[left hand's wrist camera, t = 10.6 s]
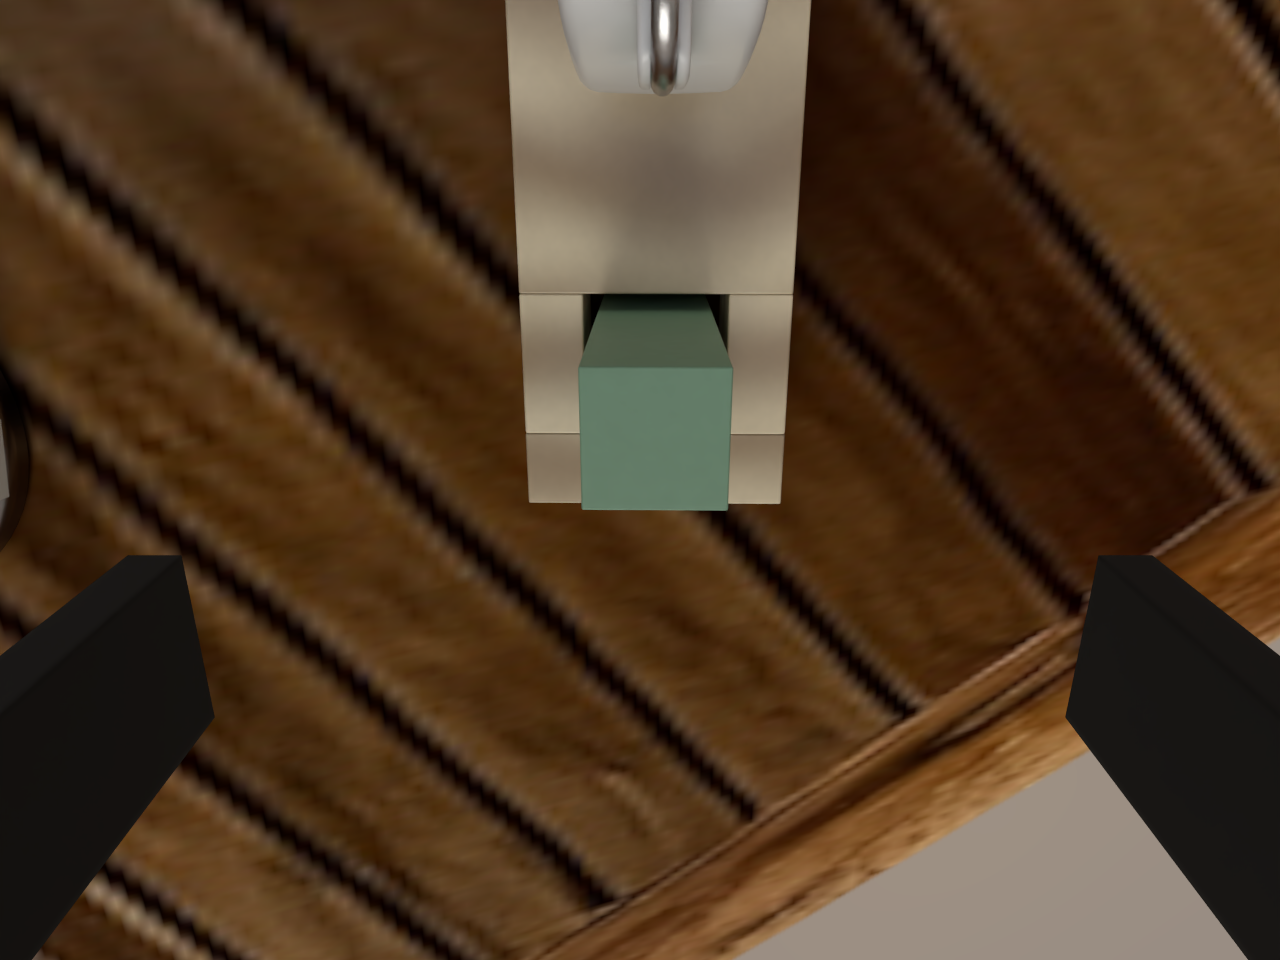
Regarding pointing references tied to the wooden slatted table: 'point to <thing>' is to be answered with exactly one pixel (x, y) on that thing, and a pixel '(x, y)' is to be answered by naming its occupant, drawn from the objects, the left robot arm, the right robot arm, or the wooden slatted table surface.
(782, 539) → the wooden slatted table surface
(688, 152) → the peg board
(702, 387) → the peg
